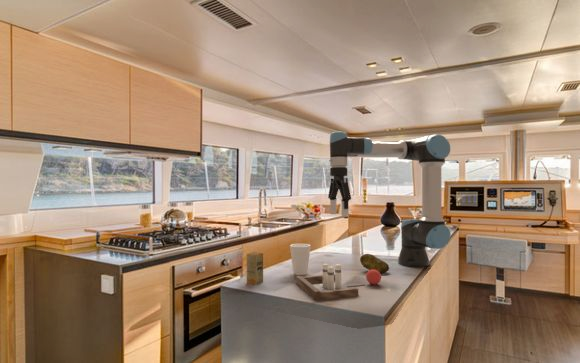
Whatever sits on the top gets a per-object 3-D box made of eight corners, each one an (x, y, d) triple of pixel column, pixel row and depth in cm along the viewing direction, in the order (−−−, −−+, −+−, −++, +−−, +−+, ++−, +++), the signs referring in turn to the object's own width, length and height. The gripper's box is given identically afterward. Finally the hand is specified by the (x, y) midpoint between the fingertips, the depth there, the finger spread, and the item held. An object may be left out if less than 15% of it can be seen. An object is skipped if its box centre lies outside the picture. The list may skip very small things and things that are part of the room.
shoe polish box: (263, 281, 144) (263, 253, 144) (256, 284, 140) (256, 255, 140) (253, 280, 146) (253, 252, 147) (246, 282, 142) (246, 254, 142)
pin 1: (327, 285, 137) (327, 263, 137) (329, 287, 135) (329, 265, 135) (321, 286, 137) (321, 264, 137) (324, 288, 134) (323, 265, 134)
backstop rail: (333, 279, 146) (333, 272, 146) (358, 295, 125) (358, 287, 125) (296, 283, 141) (296, 276, 141) (315, 300, 120) (315, 291, 120)
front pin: (339, 286, 136) (339, 264, 136) (342, 288, 134) (342, 265, 134) (334, 287, 136) (333, 264, 136) (336, 289, 133) (336, 266, 133)
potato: (381, 275, 152) (381, 258, 152) (357, 270, 161) (357, 254, 162) (390, 272, 158) (390, 255, 158) (367, 267, 167) (366, 251, 167)
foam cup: (313, 272, 160) (313, 244, 160) (306, 276, 151) (305, 247, 151) (295, 269, 164) (295, 243, 164) (286, 274, 155) (286, 246, 155)
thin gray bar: (364, 284, 139) (364, 284, 139) (365, 285, 138) (365, 284, 138) (346, 286, 136) (346, 286, 136) (347, 287, 135) (347, 286, 135)
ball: (376, 281, 143) (376, 267, 143) (384, 285, 137) (384, 270, 137) (363, 282, 141) (363, 268, 141) (371, 286, 136) (370, 271, 136)
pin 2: (332, 289, 133) (332, 266, 133) (335, 291, 130) (334, 267, 130) (326, 290, 132) (326, 266, 132) (329, 291, 129) (329, 268, 130)
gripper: (321, 168, 160) (321, 213, 160) (341, 165, 136) (342, 218, 136) (336, 168, 162) (336, 213, 162) (358, 165, 138) (359, 217, 137)
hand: (339, 215), depth 149 cm, fingers open, 13 cm apart
